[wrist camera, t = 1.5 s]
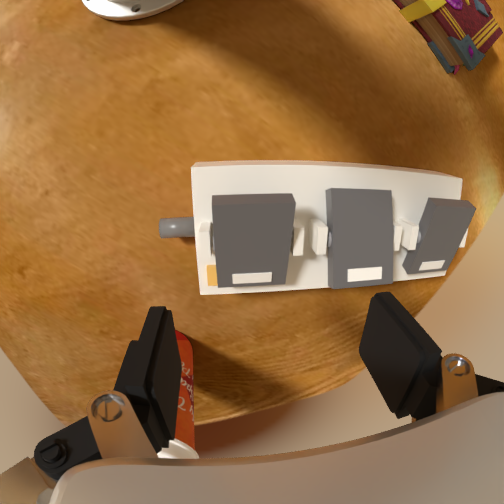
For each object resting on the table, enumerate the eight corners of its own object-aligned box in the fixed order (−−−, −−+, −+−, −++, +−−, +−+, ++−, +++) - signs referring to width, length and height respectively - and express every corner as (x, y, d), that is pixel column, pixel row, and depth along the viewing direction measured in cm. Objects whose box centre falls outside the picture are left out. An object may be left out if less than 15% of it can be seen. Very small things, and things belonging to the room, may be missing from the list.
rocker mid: (322, 190, 21) (330, 187, 19) (383, 192, 21) (393, 190, 20) (325, 285, 21) (332, 289, 20) (384, 280, 22) (394, 283, 20)
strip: (160, 164, 23) (141, 174, 17) (438, 171, 25) (478, 183, 19) (171, 273, 27) (159, 310, 21) (424, 259, 29) (457, 285, 23)
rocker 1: (210, 192, 18) (209, 206, 17) (292, 191, 19) (298, 203, 17) (216, 273, 23) (216, 288, 21) (283, 270, 23) (286, 285, 22)
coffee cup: (218, 351, 31) (222, 474, 17) (169, 383, 32) (156, 492, 18) (161, 303, 28) (127, 430, 14) (115, 342, 29) (75, 453, 15)
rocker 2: (425, 195, 19) (436, 206, 18) (466, 198, 20) (477, 209, 19) (399, 262, 24) (407, 275, 23) (440, 259, 24) (447, 270, 23)
